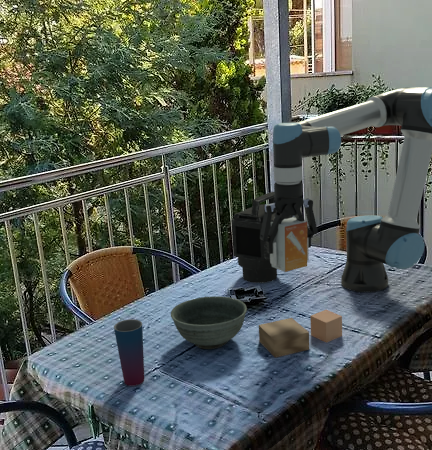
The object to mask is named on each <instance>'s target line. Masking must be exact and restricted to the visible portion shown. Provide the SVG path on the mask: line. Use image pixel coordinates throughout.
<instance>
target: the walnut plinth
mask: <svg viewBox="0 0 432 450" xmlns="http://www.w3.org/2000/svg"><path fill="white" fill-rule="evenodd" d="M258 341H259V343H260V344H261V345H262V346H263V347H264V348H265V349H266V350H267V351H268V352H269V354H271V355H272V356H273V358H275V359H276V358H281V357H283V356H284V357H285V356H288V355H293V354H297V353H300V352H304V351H308V350H309V351H310V332H309V331H308V330H307V329H306V328H305V327H303V326H302V324H300V323H299V322H298V321H296V320H295V319H294V318H292V317H290V318H284V319H280V320H275V321H271V322H266V323H261V324H258Z"/></svg>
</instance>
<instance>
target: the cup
mask: <svg viewBox="0 0 432 450" xmlns="http://www.w3.org/2000/svg"><path fill="white" fill-rule="evenodd" d="M113 329H114V330H113V332H114V335H115V341H116V346H117V350H118V357H119V361H120V368H121V371H122V377H123V383H124V384H125V385H126V386H129V387H134V386H139V385H141V384H143V383H144V382H145V361H144V360H145V359H144V358H145V355H144V338H143V337H144V336H143V321H141V320H139V319H133V318H132V319H123V320H121V321H118V322H117V323H115V324H114V326H113Z"/></svg>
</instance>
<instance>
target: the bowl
mask: <svg viewBox="0 0 432 450" xmlns="http://www.w3.org/2000/svg"><path fill="white" fill-rule="evenodd" d="M247 311H248V308H247V305H246V304H245V302H244V301H242V300H239V299H237V298H233V297H229V296H220V295H219V296H218V295H217V296H216V295H215V296H202V297H197V298H192V299H188V300H186V301H183V302H180V303H178V304H176V305H175V306H174V307H173V308H172V309H171V311H170V317H171V319H172V322H173V323H174V326H175V328H176V331H177V332H178V333H179V334H180V336H181V337H182V338H183V339H184V340H186V341H187V342H188V343H191V344H194V345H195V346H196V347H197V348H200V349H205V350H212V349H218V348H221V347H224V346H225V345H226V344H227V343H228V342H229V341H230V340H232V339H233V338H234V337H236V336H237V335H238V334H239V333H240V331H241V329H242V327H243V324H244V322H245V317H246V314H247Z"/></svg>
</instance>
